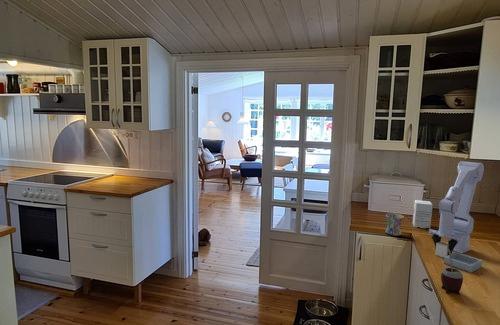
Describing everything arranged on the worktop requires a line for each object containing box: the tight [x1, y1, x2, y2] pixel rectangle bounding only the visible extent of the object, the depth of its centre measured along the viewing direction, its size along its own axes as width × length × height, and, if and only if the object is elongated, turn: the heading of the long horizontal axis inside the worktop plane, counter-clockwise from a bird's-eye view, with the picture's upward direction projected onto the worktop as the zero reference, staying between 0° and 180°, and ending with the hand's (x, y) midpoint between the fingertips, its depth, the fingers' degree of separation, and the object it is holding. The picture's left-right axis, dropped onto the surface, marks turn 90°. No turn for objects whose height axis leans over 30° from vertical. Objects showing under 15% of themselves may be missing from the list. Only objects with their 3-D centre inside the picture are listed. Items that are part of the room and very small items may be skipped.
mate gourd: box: [440, 247, 464, 295], centre depth 128 cm, size 8×8×15 cm
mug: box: [385, 212, 405, 237], centre depth 190 cm, size 12×9×11 cm
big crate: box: [443, 251, 484, 274], centre depth 152 cm, size 11×11×3 cm
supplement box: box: [412, 199, 433, 230], centre depth 207 cm, size 9×9×15 cm
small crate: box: [434, 240, 449, 259], centre depth 162 cm, size 5×5×6 cm
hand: (443, 252), depth 162 cm, fingers closed on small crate, 5 cm apart
